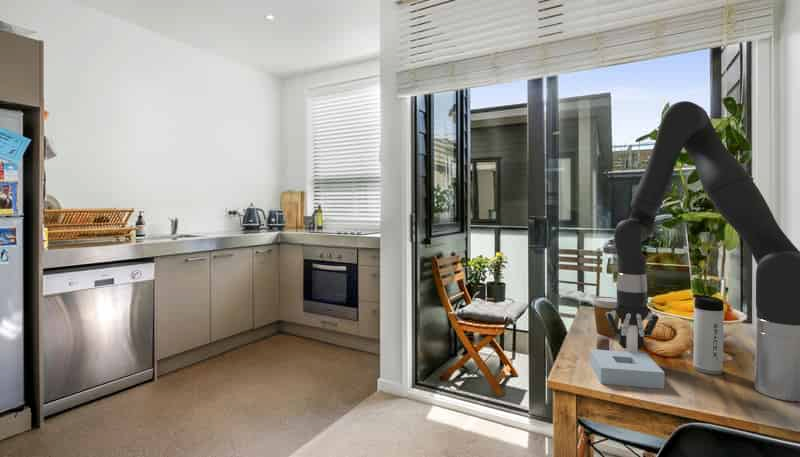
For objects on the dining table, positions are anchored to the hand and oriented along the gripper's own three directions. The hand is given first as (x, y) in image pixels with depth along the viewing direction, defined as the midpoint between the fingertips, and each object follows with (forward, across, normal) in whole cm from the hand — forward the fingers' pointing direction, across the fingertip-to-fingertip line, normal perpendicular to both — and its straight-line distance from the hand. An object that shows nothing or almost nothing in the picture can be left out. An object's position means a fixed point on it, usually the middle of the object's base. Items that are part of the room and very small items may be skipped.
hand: (631, 347), depth 120 cm
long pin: (+3, 0, 0) cm, 3 cm away
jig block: (+3, -5, -13) cm, 14 cm away
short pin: (+3, -7, +2) cm, 8 cm away
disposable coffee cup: (+3, -1, +25) cm, 25 cm away
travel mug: (+3, +17, -5) cm, 18 cm away
